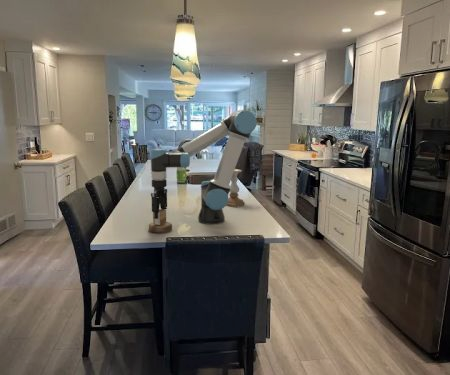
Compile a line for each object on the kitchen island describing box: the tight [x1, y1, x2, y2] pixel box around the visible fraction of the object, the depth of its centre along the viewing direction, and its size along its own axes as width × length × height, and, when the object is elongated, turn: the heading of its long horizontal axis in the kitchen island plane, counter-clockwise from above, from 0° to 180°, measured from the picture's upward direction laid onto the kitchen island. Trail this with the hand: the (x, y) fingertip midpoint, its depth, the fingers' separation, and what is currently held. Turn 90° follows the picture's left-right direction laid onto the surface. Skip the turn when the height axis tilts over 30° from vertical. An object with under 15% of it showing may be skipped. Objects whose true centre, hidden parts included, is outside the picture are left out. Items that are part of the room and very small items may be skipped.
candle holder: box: [225, 168, 246, 208], centre depth 249 cm, size 11×11×24 cm
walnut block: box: [152, 208, 167, 225], centre depth 193 cm, size 5×5×7 cm
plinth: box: [148, 221, 173, 235], centre depth 194 cm, size 12×12×3 cm
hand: (160, 222), depth 194 cm, fingers closed on walnut block, 5 cm apart
